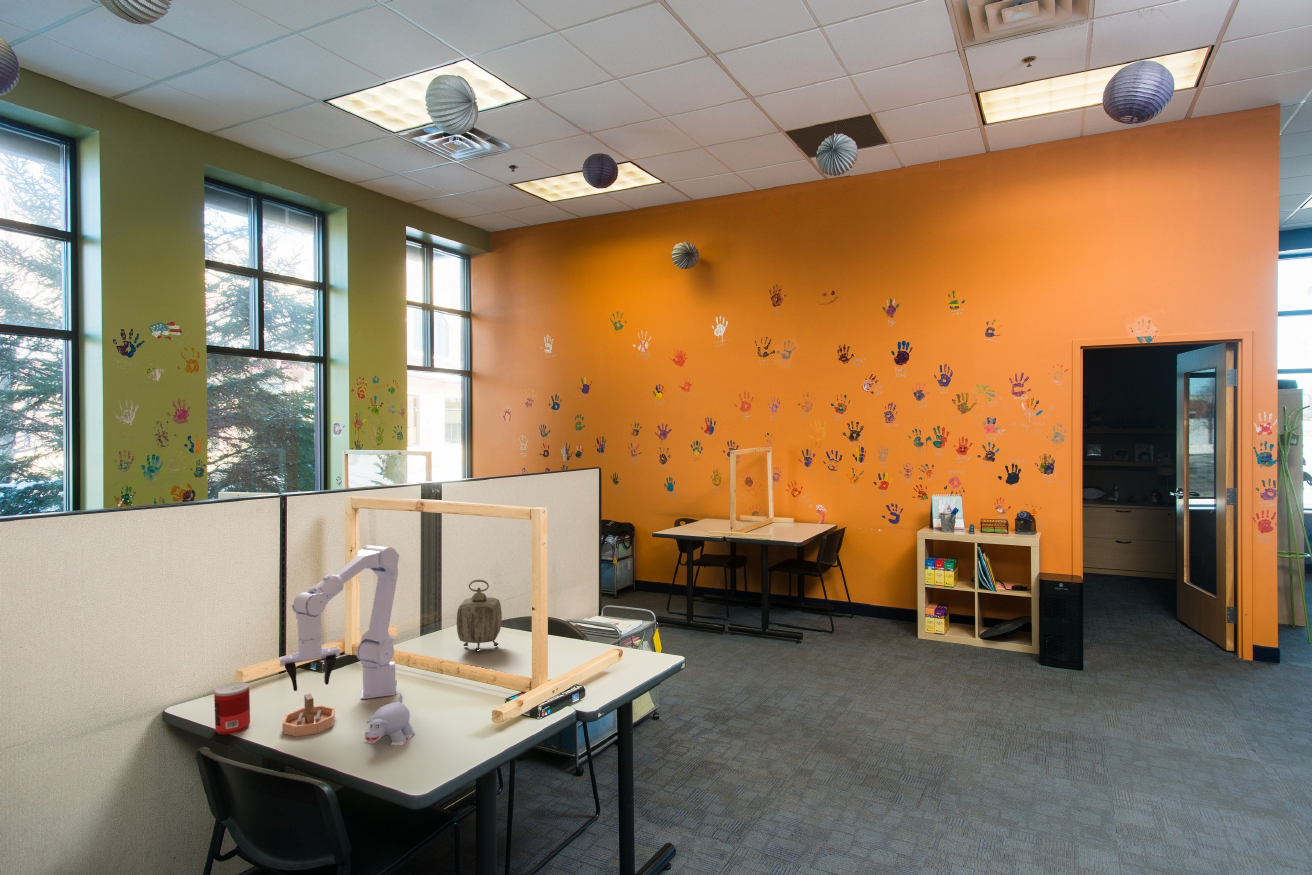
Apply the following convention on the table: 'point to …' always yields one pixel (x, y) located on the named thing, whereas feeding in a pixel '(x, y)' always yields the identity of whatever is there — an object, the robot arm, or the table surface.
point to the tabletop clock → (479, 618)
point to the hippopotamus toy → (390, 724)
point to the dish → (299, 727)
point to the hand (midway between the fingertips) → (311, 686)
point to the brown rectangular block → (309, 708)
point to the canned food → (232, 708)
